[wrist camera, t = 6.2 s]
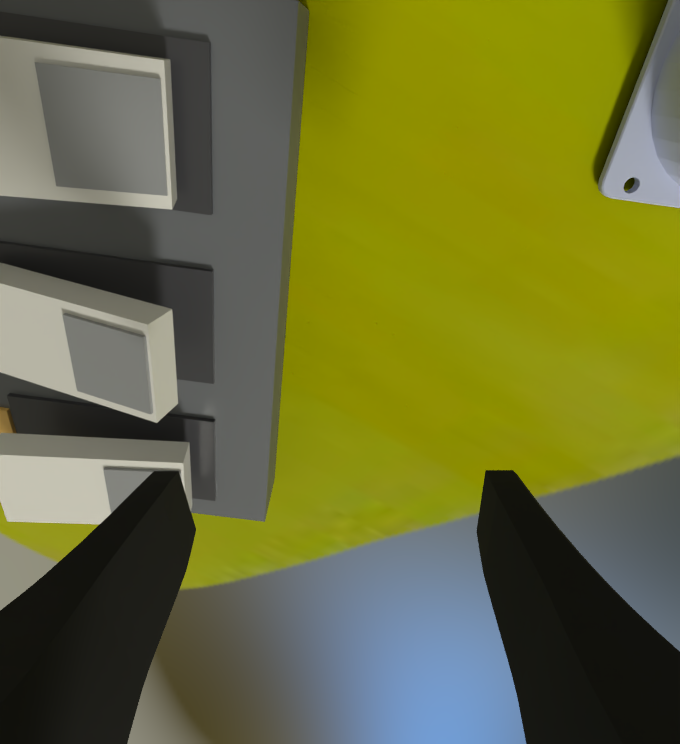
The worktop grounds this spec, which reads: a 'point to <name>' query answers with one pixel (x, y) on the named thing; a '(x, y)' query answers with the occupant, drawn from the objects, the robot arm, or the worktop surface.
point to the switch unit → (185, 232)
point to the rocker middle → (87, 343)
